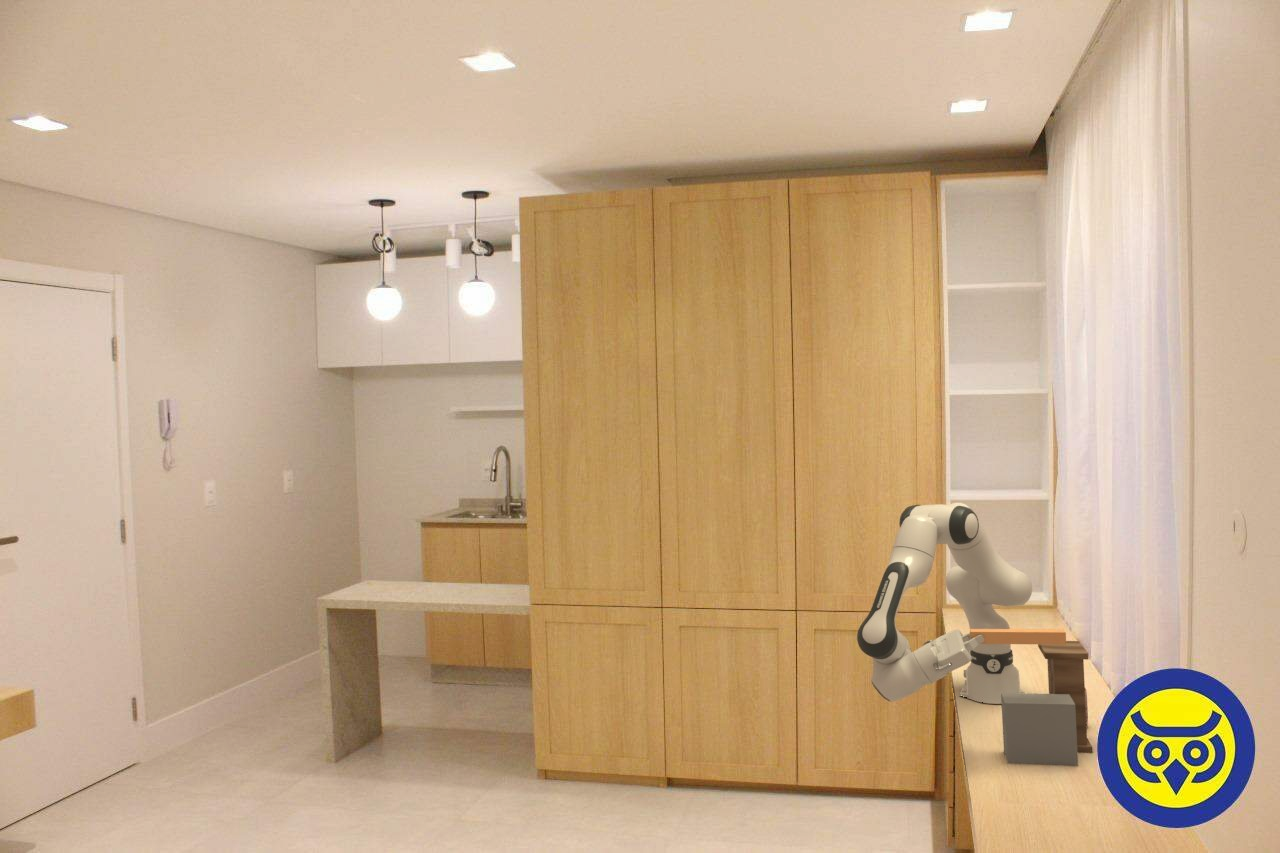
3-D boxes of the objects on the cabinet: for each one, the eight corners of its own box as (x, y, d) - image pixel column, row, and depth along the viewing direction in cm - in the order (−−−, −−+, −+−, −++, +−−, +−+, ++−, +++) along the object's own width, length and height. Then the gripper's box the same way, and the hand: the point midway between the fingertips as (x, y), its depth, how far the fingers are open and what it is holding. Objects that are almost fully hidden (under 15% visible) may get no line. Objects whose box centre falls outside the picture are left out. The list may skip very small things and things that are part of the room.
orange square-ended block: (970, 640, 244) (969, 628, 244) (1064, 641, 239) (1063, 629, 239) (971, 643, 241) (970, 631, 241) (1066, 644, 236) (1065, 632, 236)
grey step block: (1003, 751, 246) (1001, 693, 245) (1071, 753, 242) (1069, 694, 241) (1007, 763, 238) (1004, 703, 237) (1078, 766, 234) (1075, 704, 234)
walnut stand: (1042, 734, 256) (1037, 640, 255) (1083, 735, 253) (1078, 641, 252) (1049, 751, 244) (1045, 653, 243) (1092, 752, 241) (1088, 653, 241)
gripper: (928, 662, 235) (978, 634, 232) (924, 640, 255) (971, 614, 252) (942, 684, 235) (993, 656, 232) (938, 661, 254) (985, 635, 251)
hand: (981, 634), depth 242 cm, fingers closed on orange square-ended block, 3 cm apart
